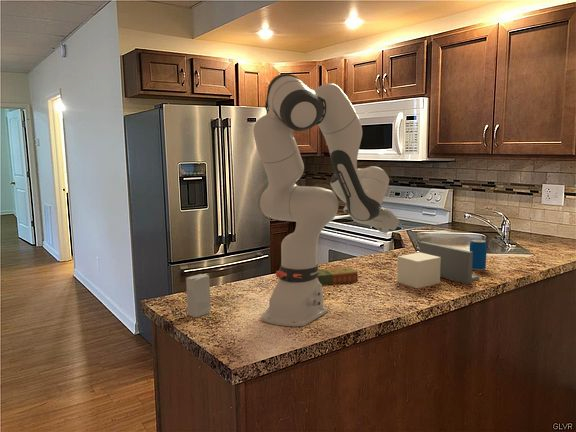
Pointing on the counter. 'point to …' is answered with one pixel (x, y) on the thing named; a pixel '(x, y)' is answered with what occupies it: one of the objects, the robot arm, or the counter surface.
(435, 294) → the counter surface
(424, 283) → the block
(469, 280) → the grey stand
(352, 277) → the carton
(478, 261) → the beverage can
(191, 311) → the skincare box
